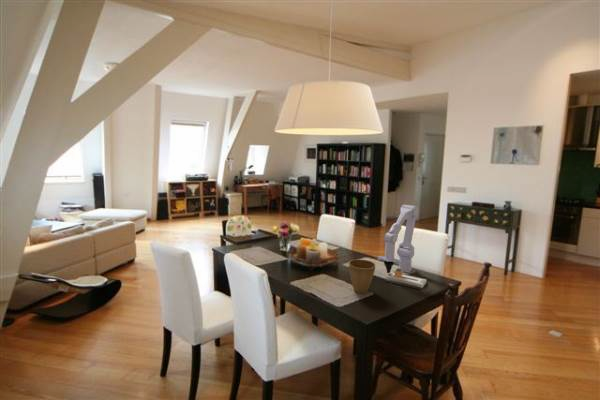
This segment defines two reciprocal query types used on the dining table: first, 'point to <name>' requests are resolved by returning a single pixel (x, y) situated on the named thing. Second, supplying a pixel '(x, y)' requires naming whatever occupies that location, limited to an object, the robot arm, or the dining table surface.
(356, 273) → the plant pot
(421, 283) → the white slider switch panel
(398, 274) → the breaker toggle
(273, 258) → the dining table surface
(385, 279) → the dressed cords
